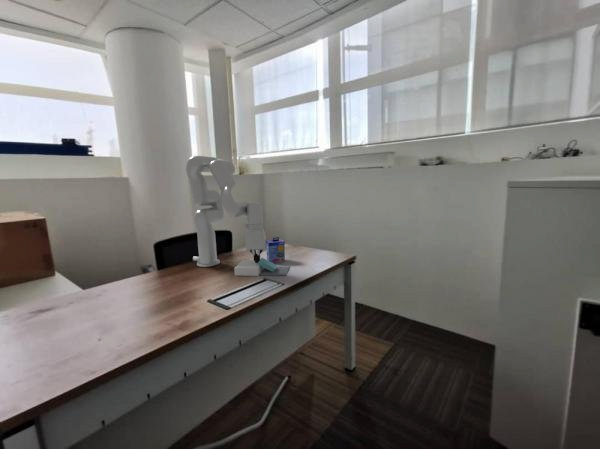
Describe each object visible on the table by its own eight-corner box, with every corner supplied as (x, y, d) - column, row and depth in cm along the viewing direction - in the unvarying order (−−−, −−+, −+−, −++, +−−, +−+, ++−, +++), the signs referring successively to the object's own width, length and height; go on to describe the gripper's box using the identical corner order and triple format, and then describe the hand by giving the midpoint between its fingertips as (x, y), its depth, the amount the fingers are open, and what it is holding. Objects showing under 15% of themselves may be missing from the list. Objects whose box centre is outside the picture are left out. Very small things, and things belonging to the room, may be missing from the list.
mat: (259, 275, 136) (259, 274, 136) (265, 267, 150) (265, 266, 150) (285, 276, 135) (285, 275, 135) (289, 267, 148) (289, 266, 148)
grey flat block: (234, 275, 137) (234, 267, 137) (243, 266, 151) (242, 259, 150) (258, 275, 136) (258, 267, 135) (264, 267, 150) (264, 259, 149)
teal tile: (257, 264, 139) (259, 260, 139) (260, 260, 145) (262, 257, 145) (273, 272, 139) (275, 269, 139) (275, 268, 145) (277, 265, 145)
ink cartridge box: (269, 263, 156) (268, 238, 154) (266, 261, 161) (265, 236, 158) (285, 261, 160) (284, 236, 158) (282, 259, 165) (281, 235, 163)
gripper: (238, 228, 137) (240, 264, 139) (268, 228, 135) (269, 264, 138) (243, 225, 144) (245, 260, 147) (271, 225, 143) (272, 260, 145)
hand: (257, 262), depth 142 cm, fingers closed
